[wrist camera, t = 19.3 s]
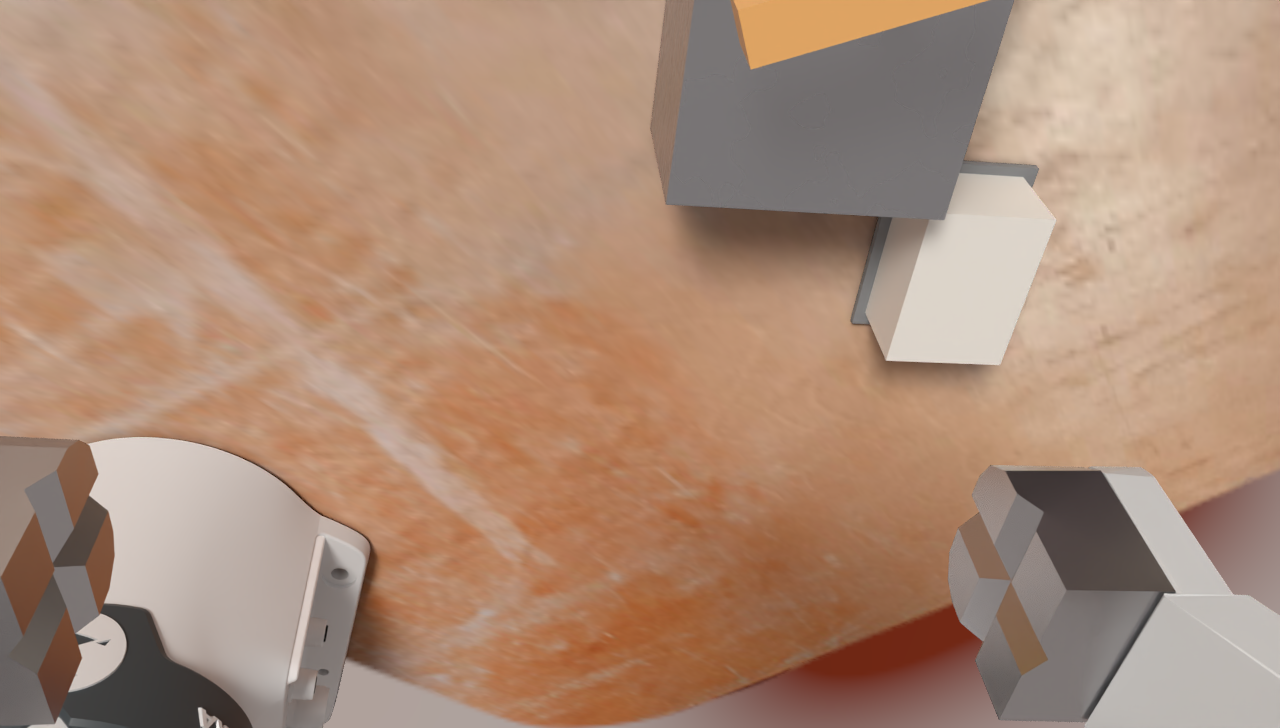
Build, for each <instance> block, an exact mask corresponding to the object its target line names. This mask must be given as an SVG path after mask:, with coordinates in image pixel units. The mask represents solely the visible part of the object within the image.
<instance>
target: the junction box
mask: <svg viewBox="0 0 1280 728" xmlns="http://www.w3.org/2000/svg"><path fill="white" fill-rule="evenodd" d="M1013 2H1014V0H988V1H985V2H981V3H978V4H975V5H971V6H968V7H964V8H961V9H957V10H954V11H951V12H947V13H944V14H940V15H937V16H933V17H930V18H927V19H923V20H920V21H916V22H913V23H909V24H906V25H903V26H899V27H896V28H892V29H889V30H885V31H882V32H879V33H875V34H872V35H868V36H865V37H861V38H858V39H855V40H851V41H848V42H844V43H841V44H837V45H834V46H830V47H827V48H824V49H820V50H817V51H813V52H810V53H806V54H803V55H800V56H796V57H793V58H789V59H786V60H782V61H779V62H776V63H772V64H769V65H765V66H762V67H758V68H755V69H752V70H751V69H750V67H749V64H748V62H747V60H746V57H745V55H744V52H743V50H742V48H741V45H740V42H739V37H738V33H737V28H736V24H735V19H734V15H733V10H732V6H731V1H730V0H666V6H665V14H664V22H663V30H662V38H661V47H660V55H659V63H658V71H657V79H656V87H655V95H654V104H653V112H652V120H651V128H650V129H651V134H652V139H653V144H654V149H655V153H656V158H657V163H658V168H659V173H660V178H661V183H662V188H663V193H664V197H665V202H666V204H667V205H685V206H703V207H720V208H738V209H755V210H773V211H790V212H808V213H826V214H843V215H861V216H878V217H896V218H914V219H931V220H945V217H946V213H947V210H948V207H949V204H950V201H951V198H952V195H953V191H954V188H955V185H956V182H957V179H958V176H959V173H960V169H961V166H962V163H963V160H964V157H965V154H966V150H967V147H968V144H969V141H970V138H971V135H972V132H973V128H974V125H975V122H976V119H977V116H978V113H979V109H980V106H981V103H982V100H983V97H984V94H985V91H986V87H987V84H988V81H989V78H990V75H991V72H992V68H993V65H994V62H995V59H996V56H997V53H998V50H999V46H1000V43H1001V40H1002V37H1003V34H1004V31H1005V27H1006V24H1007V21H1008V18H1009V15H1010V12H1011V9H1012V5H1013Z"/></svg>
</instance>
